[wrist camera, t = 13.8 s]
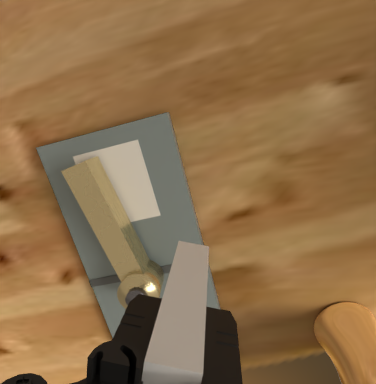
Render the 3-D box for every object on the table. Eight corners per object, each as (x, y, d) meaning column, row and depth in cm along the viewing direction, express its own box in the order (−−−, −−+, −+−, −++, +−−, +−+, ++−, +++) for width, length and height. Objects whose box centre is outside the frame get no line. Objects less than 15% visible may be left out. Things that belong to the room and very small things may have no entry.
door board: (169, 112, 23) (166, 112, 21) (234, 363, 30) (236, 374, 29) (44, 146, 24) (35, 147, 23) (135, 376, 31) (132, 387, 30)
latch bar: (136, 296, 26) (126, 323, 23) (68, 168, 23) (44, 178, 20) (169, 285, 26) (164, 311, 22) (104, 152, 22) (86, 159, 19)
